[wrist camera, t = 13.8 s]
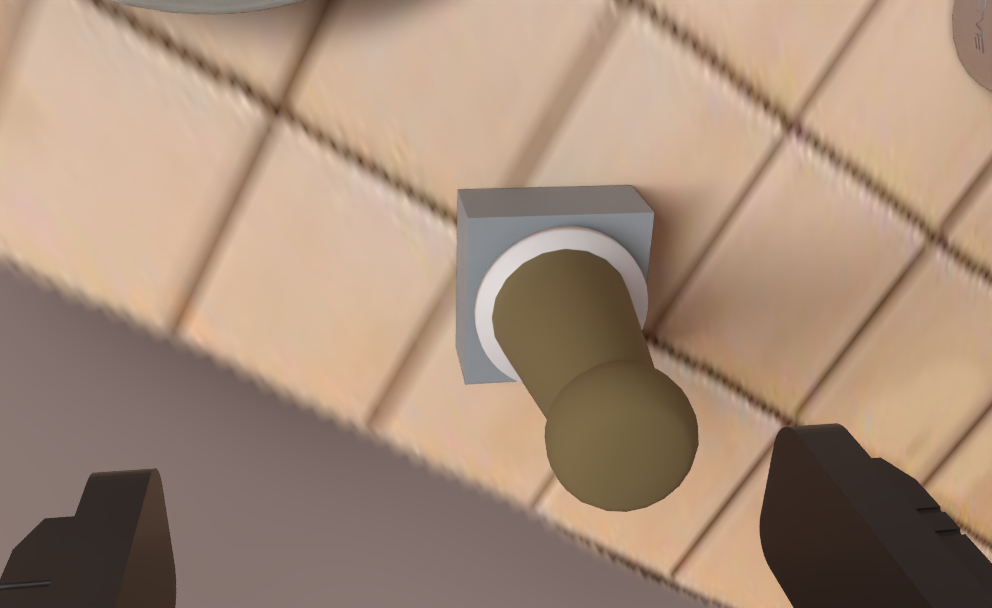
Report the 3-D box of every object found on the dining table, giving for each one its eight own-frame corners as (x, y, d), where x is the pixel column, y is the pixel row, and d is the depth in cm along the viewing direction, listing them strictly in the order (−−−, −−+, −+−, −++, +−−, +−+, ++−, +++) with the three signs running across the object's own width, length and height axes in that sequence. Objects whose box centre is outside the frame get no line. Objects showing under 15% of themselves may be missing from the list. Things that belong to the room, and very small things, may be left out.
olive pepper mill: (473, 277, 39) (522, 425, 29) (612, 228, 39) (706, 361, 30) (514, 393, 42) (571, 563, 32) (643, 348, 42) (739, 504, 32)
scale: (631, 185, 44) (663, 222, 39) (615, 346, 47) (643, 396, 43) (457, 189, 42) (471, 229, 38) (455, 354, 46) (468, 407, 42)
